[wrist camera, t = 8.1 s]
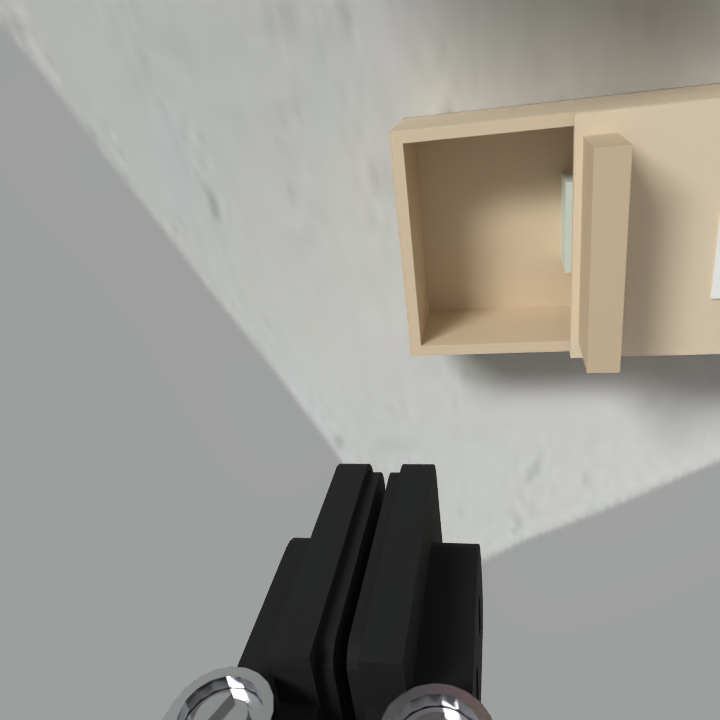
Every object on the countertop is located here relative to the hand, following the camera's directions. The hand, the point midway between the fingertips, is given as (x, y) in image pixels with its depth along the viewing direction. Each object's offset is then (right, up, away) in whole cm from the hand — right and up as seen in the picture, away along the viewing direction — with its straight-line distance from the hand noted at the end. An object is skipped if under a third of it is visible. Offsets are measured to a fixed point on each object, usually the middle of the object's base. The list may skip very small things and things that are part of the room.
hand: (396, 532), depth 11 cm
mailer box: (+9, +10, +19) cm, 23 cm away
